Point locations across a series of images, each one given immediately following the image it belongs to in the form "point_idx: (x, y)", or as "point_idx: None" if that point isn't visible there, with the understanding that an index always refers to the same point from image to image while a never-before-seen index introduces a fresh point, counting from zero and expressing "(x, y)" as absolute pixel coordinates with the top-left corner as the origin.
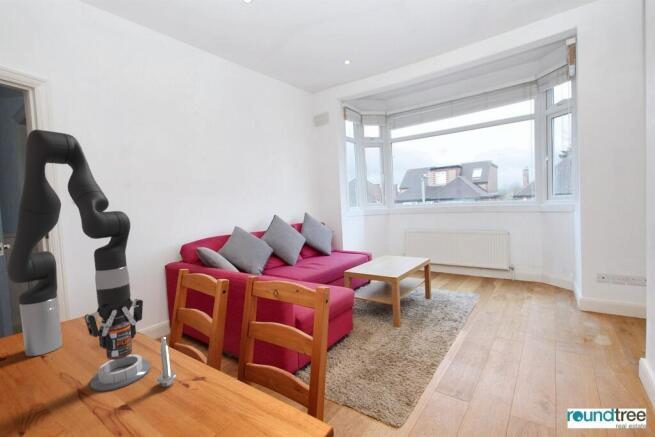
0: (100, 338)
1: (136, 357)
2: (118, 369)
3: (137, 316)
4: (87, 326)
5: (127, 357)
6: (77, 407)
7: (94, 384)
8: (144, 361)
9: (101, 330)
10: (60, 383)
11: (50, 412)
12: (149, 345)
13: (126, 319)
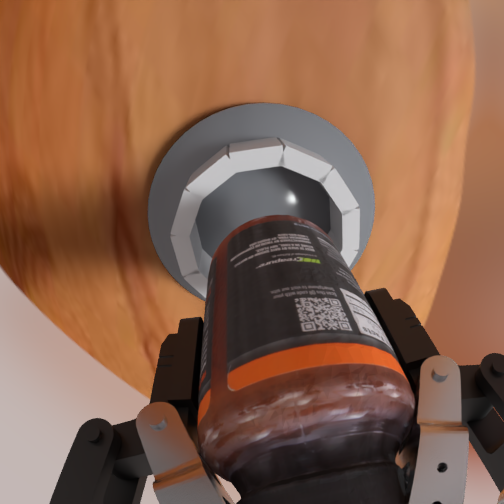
0: (161, 396)
1: (342, 237)
2: (266, 182)
3: (469, 431)
4: (56, 499)
5: (323, 185)
6: (110, 298)
7: (158, 230)
8: (364, 212)
9: (168, 446)
10: (74, 67)
11: (53, 261)
12: (452, 50)
13: (401, 454)
